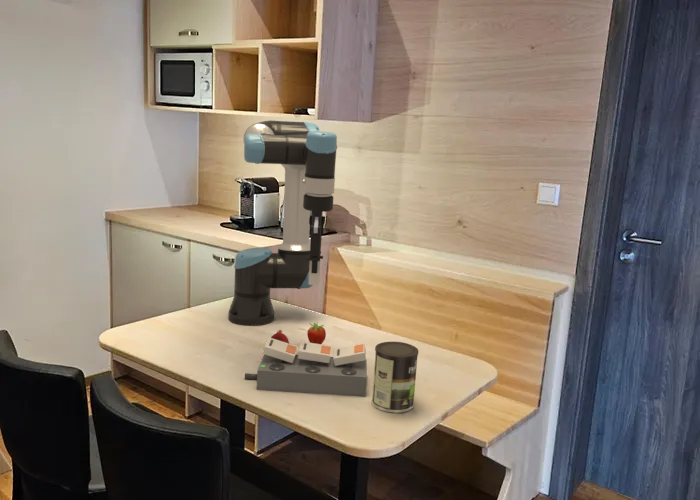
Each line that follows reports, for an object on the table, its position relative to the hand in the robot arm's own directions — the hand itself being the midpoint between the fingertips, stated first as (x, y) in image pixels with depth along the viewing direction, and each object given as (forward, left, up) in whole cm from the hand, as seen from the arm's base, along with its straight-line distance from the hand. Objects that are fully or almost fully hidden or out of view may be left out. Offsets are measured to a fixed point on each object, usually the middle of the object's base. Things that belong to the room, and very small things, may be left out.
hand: (313, 283), depth 164 cm
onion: (-9, -9, -25) cm, 28 cm away
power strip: (+7, 0, -24) cm, 25 cm away
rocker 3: (+5, +11, -17) cm, 20 cm away
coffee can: (+16, +22, -25) cm, 36 cm away
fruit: (-18, +1, -25) cm, 30 cm away
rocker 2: (+5, +2, -17) cm, 18 cm away
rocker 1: (+5, -8, -18) cm, 20 cm away
